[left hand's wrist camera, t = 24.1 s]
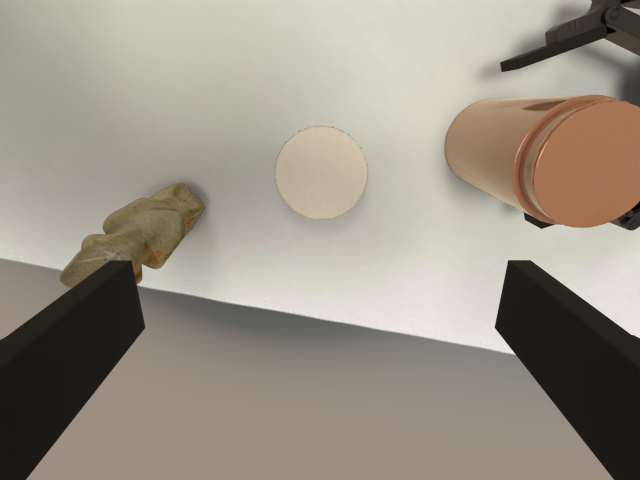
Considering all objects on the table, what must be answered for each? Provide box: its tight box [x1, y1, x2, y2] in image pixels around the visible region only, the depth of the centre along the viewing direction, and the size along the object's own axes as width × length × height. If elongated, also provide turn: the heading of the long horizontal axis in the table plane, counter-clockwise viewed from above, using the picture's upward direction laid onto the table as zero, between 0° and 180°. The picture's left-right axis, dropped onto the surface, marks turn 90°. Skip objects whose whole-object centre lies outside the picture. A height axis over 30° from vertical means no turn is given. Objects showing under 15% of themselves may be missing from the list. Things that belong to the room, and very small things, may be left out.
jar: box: [445, 95, 640, 228], centre depth 29 cm, size 8×8×16 cm
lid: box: [275, 125, 368, 219], centre depth 36 cm, size 9×9×2 cm
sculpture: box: [60, 183, 205, 289], centre depth 32 cm, size 6×7×15 cm
